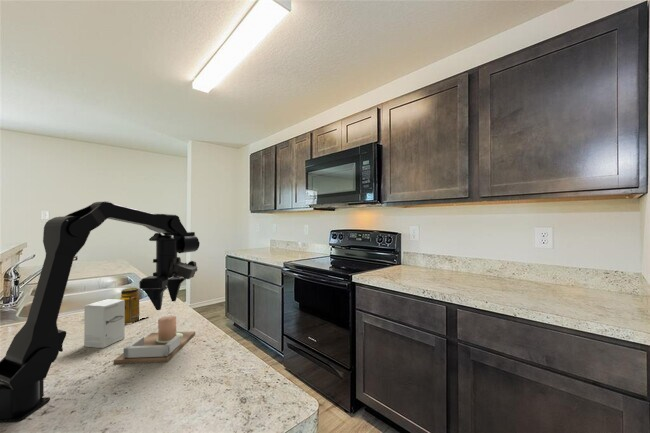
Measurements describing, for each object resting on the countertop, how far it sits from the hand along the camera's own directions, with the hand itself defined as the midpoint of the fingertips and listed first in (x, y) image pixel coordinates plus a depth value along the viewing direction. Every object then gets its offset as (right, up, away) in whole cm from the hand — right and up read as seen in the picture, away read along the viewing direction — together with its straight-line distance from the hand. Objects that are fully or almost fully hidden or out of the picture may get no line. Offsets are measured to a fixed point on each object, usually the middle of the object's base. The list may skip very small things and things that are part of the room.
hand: (166, 305), depth 87 cm
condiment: (-25, -13, +21) cm, 35 cm away
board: (-1, -12, -3) cm, 12 cm away
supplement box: (-20, -12, +1) cm, 23 cm away
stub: (-1, -11, +1) cm, 11 cm away
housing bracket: (+1, -10, -8) cm, 13 cm away
